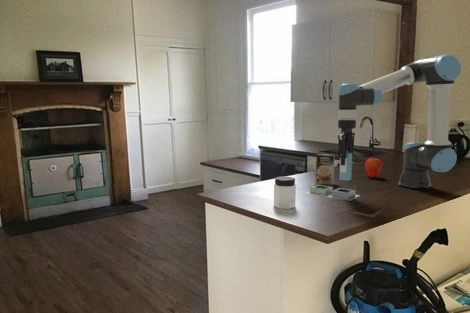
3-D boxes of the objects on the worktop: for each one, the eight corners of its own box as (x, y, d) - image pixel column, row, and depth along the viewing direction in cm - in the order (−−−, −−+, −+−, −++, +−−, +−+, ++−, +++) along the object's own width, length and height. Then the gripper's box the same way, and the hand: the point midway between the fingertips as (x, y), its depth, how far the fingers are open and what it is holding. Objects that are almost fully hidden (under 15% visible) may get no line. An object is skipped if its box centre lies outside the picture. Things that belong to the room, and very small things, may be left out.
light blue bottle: (351, 179, 173) (352, 150, 171) (347, 180, 170) (348, 151, 168) (342, 178, 176) (343, 150, 174) (339, 179, 173) (340, 151, 171)
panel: (360, 197, 175) (360, 190, 175) (350, 202, 166) (350, 194, 166) (316, 190, 189) (316, 183, 188) (304, 195, 180) (304, 187, 179)
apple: (361, 177, 222) (362, 156, 221) (369, 175, 228) (370, 155, 227) (376, 179, 216) (377, 158, 214) (384, 177, 222) (385, 157, 220)
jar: (282, 202, 166) (282, 175, 164) (298, 206, 161) (299, 177, 159) (270, 206, 159) (270, 178, 158) (286, 210, 154) (287, 181, 152)
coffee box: (314, 185, 201) (315, 154, 199) (316, 182, 207) (317, 153, 205) (332, 186, 198) (334, 155, 196) (333, 184, 204) (335, 154, 202)
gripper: (346, 118, 178) (345, 167, 181) (330, 120, 165) (329, 173, 168) (362, 118, 173) (360, 169, 177) (347, 120, 160) (345, 175, 163)
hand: (345, 171), depth 172 cm, fingers closed on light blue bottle, 4 cm apart
